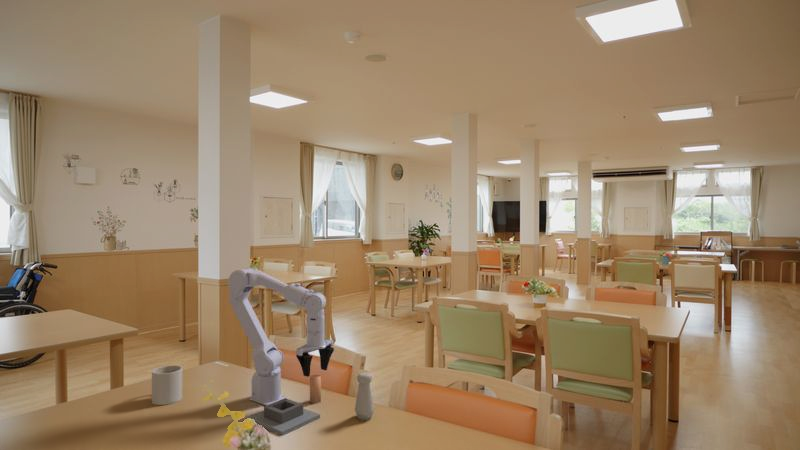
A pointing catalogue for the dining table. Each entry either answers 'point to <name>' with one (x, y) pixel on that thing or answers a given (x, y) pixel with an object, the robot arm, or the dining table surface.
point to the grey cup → (166, 385)
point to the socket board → (284, 416)
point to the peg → (315, 388)
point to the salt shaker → (364, 397)
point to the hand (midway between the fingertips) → (315, 372)
